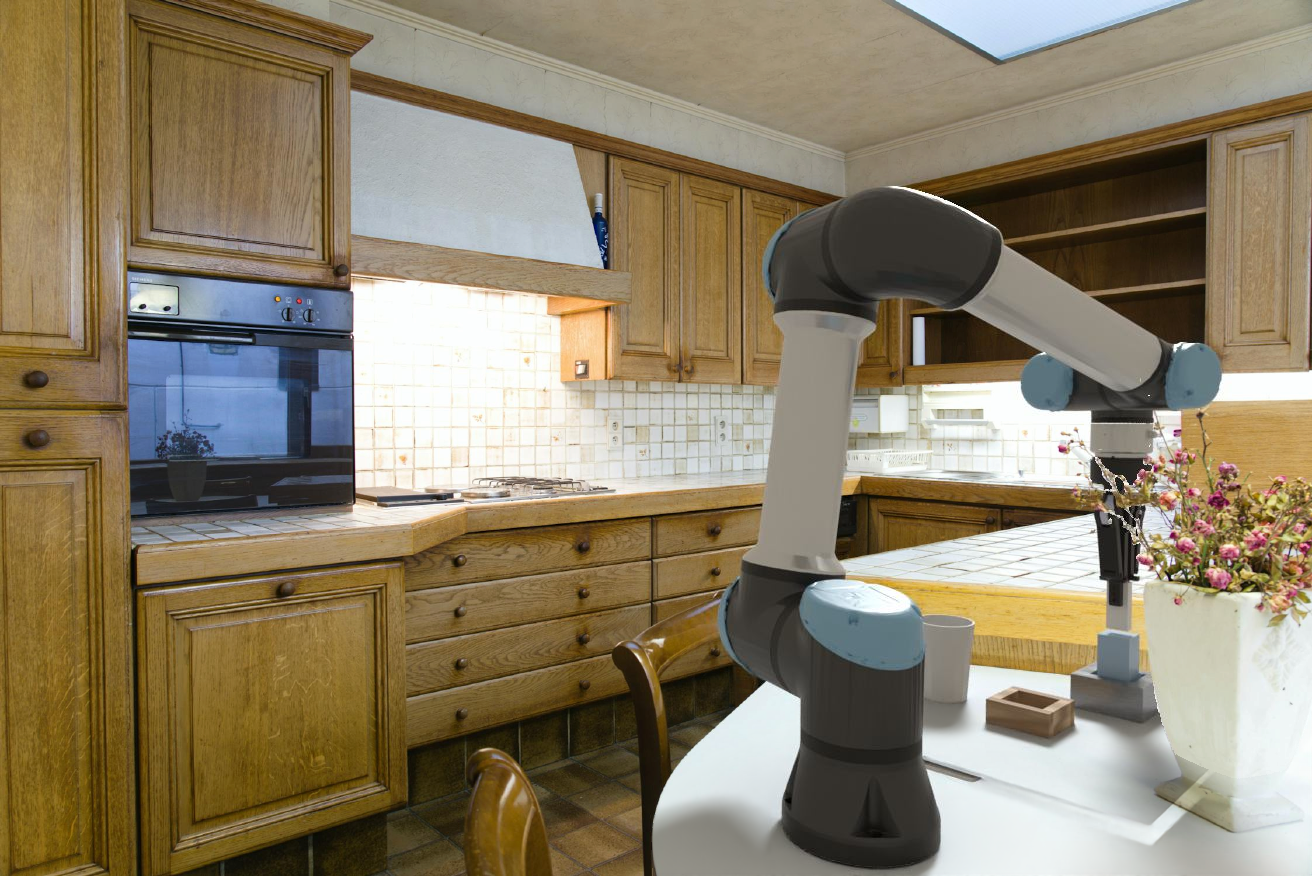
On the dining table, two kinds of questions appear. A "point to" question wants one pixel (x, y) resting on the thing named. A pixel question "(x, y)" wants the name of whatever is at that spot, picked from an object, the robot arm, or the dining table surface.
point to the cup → (947, 657)
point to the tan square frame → (1030, 711)
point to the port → (1114, 694)
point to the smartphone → (950, 772)
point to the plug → (1118, 655)
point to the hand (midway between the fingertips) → (1118, 628)
